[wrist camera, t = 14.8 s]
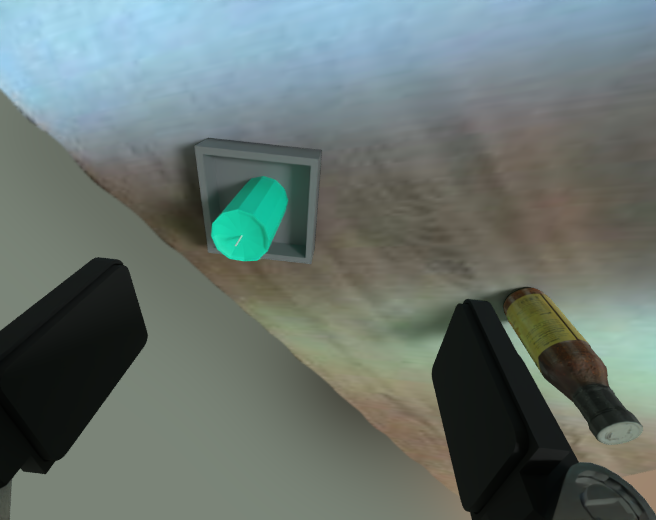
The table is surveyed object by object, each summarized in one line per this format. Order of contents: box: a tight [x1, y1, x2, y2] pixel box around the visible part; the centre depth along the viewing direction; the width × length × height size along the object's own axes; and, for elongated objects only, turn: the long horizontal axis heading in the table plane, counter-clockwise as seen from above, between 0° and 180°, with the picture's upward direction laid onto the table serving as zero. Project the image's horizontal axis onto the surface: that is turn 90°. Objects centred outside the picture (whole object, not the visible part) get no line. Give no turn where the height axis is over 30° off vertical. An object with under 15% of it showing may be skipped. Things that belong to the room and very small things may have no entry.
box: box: [194, 138, 322, 264], centre depth 41 cm, size 14×14×4 cm
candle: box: [211, 176, 288, 261], centre depth 36 cm, size 6×6×12 cm
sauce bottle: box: [503, 288, 643, 445], centre depth 40 cm, size 7×6×20 cm
